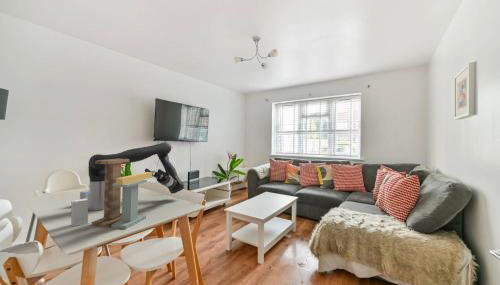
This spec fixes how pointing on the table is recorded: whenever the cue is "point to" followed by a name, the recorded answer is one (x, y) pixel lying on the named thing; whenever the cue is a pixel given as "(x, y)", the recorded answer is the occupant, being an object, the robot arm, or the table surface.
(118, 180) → the ochre bar
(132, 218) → the slate pedestal
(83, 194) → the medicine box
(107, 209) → the walnut stand
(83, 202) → the skincare box
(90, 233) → the table surface
